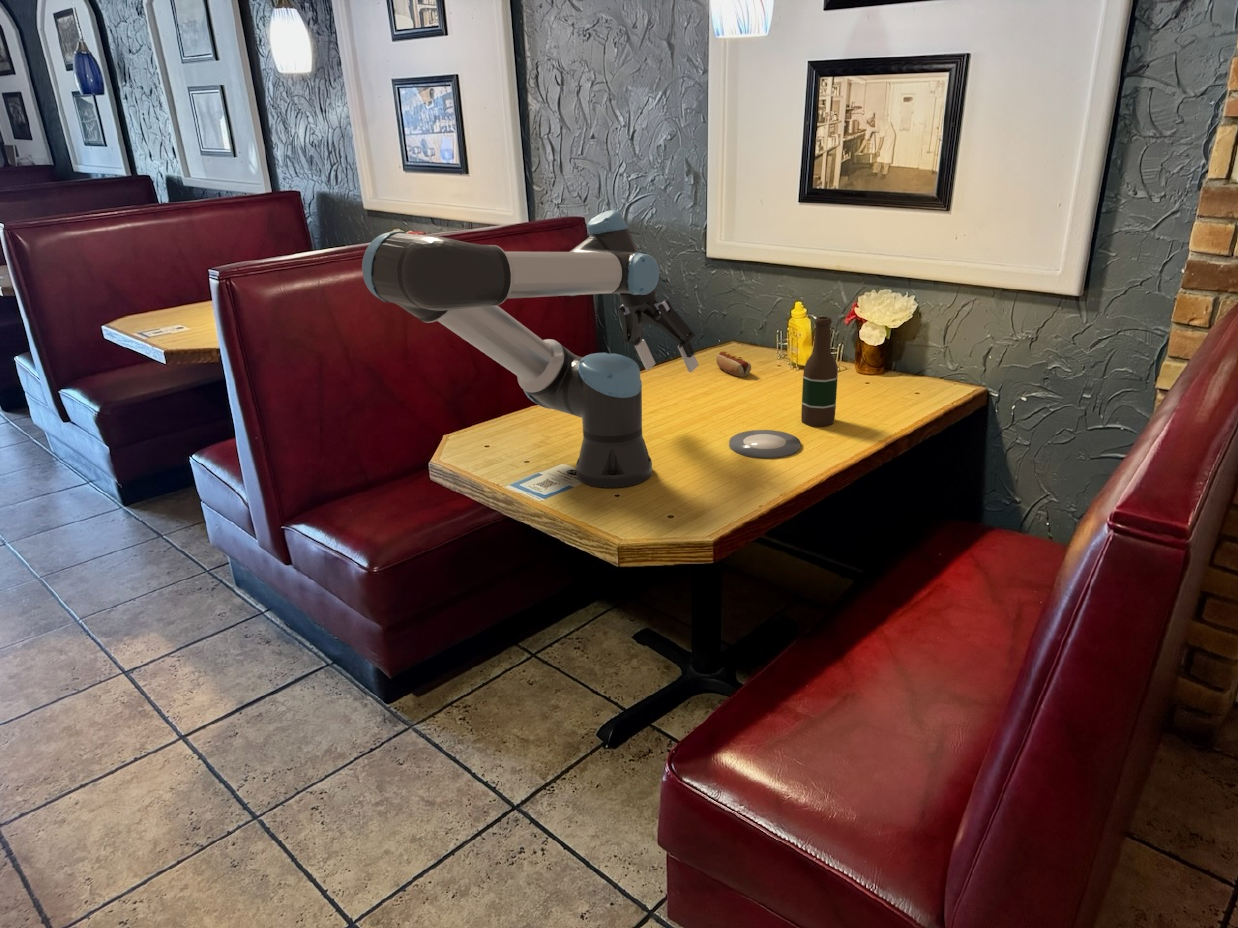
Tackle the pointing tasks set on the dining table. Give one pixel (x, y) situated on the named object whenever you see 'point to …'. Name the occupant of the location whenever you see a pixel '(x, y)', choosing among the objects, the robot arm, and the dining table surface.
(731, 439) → the slate coaster
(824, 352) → the beer bottle
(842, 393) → the dining table surface
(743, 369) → the food
